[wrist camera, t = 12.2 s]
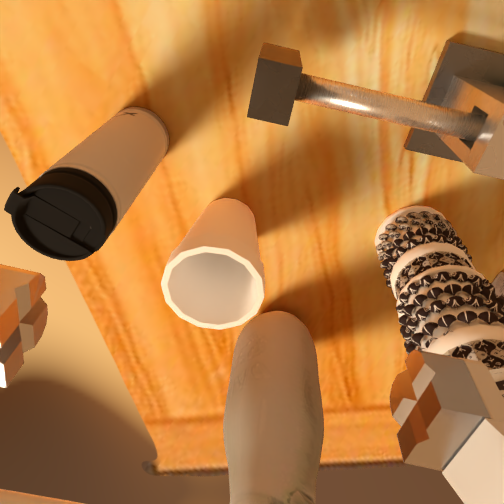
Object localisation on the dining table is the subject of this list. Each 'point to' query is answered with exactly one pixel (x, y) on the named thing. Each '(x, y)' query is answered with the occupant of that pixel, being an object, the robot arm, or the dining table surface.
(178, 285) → the foam cup
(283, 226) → the dining table surface
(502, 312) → the decorative candle
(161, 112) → the dining table surface
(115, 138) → the travel mug
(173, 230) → the dining table surface
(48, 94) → the dining table surface
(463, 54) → the bearing stand
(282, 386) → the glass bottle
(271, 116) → the shaft
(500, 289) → the coffee box
